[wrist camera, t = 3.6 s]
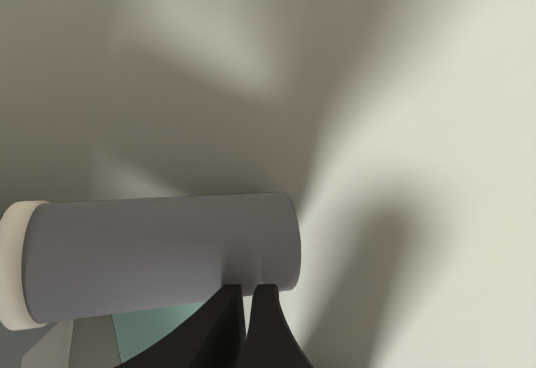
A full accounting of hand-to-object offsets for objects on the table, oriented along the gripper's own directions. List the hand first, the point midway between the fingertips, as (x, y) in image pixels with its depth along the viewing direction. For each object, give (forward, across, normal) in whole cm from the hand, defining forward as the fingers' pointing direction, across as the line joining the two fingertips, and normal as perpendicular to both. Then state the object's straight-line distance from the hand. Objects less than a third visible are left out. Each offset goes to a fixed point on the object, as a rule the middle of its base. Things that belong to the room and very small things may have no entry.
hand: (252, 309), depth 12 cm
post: (+3, -1, -1) cm, 3 cm away
